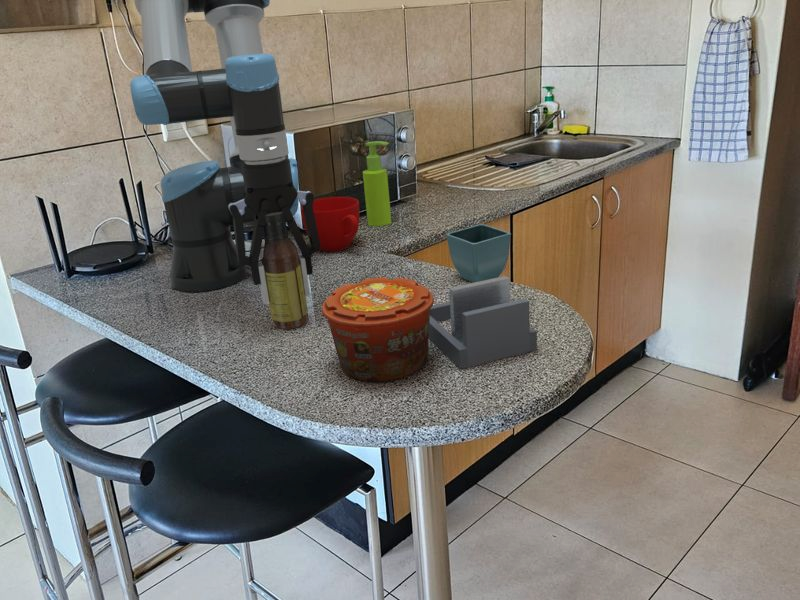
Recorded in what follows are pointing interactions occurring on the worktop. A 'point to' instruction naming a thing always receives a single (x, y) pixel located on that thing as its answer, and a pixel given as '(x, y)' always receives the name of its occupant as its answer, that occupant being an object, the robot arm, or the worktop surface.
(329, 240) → the ceramic cup
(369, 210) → the soap dispenser
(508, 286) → the bar
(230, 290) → the worktop surface
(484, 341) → the frame
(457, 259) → the flower pot
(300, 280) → the sauce bottle
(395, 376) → the food container
